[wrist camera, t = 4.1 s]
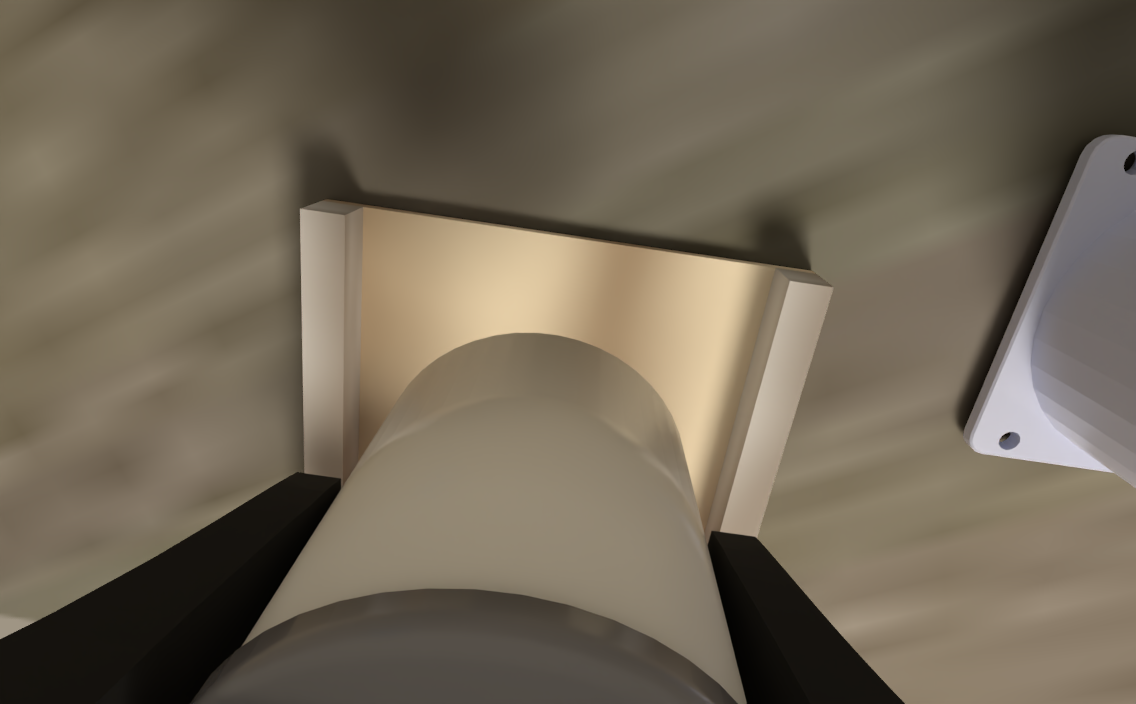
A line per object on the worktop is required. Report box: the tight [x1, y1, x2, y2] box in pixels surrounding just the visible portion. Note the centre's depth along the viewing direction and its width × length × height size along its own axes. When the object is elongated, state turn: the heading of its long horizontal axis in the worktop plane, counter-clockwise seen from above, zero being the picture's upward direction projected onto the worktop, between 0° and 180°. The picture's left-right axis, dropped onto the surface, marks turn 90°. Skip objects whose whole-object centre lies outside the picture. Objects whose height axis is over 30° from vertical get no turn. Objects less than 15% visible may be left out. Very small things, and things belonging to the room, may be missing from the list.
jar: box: [190, 333, 747, 704], centre depth 8 cm, size 5×5×6 cm
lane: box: [300, 199, 834, 545], centre depth 17 cm, size 12×20×5 cm, turn 172°
